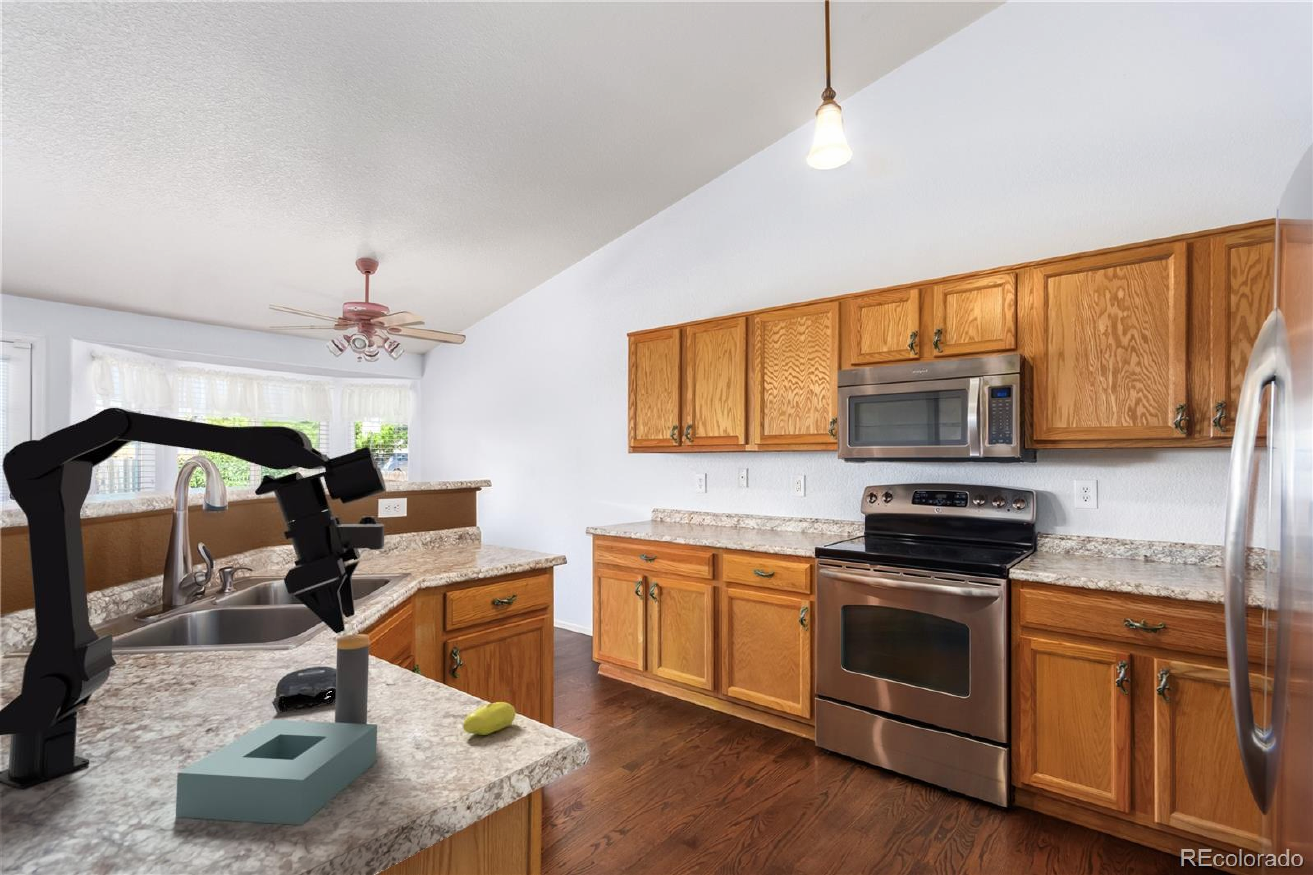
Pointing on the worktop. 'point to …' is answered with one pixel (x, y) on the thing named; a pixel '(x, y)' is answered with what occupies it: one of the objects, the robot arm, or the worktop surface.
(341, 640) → the plug
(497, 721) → the lemon
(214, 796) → the socket
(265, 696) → the worktop surface
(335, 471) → the robot arm
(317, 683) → the electronic device
